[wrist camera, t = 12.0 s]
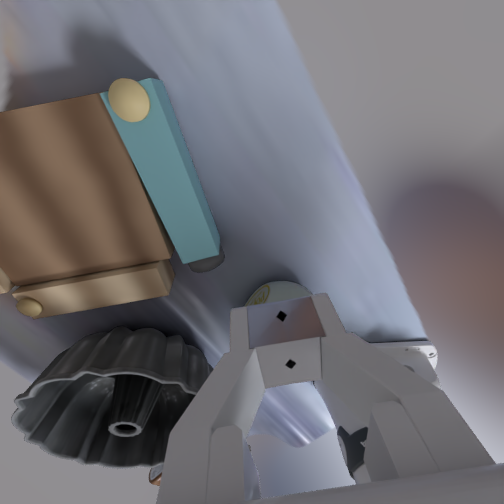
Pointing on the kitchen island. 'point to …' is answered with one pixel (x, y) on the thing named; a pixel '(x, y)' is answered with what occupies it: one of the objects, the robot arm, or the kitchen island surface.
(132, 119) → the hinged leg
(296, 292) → the air freshener
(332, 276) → the kitchen island surface
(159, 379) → the bundt pan
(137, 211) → the tan box with knobs
